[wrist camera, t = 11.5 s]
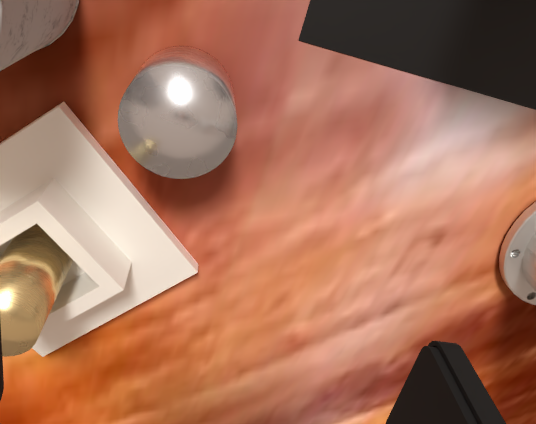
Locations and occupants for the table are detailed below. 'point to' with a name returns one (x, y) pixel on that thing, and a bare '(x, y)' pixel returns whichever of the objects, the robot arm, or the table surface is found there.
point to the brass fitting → (29, 287)
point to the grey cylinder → (31, 26)
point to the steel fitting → (179, 113)
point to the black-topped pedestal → (437, 40)
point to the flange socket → (85, 225)
